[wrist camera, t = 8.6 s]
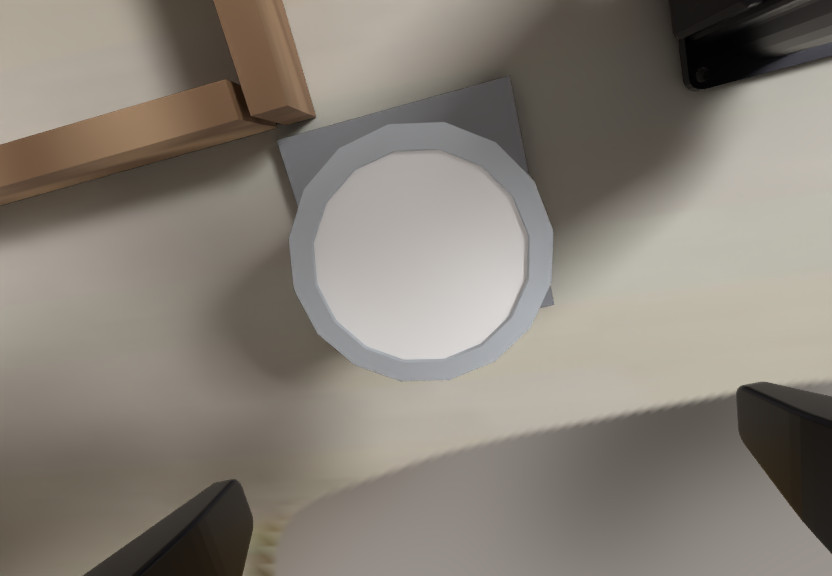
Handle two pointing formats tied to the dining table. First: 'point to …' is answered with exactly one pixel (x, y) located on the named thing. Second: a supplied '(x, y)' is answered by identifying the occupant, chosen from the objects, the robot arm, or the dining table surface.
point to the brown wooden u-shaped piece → (174, 112)
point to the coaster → (465, 108)
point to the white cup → (421, 251)
